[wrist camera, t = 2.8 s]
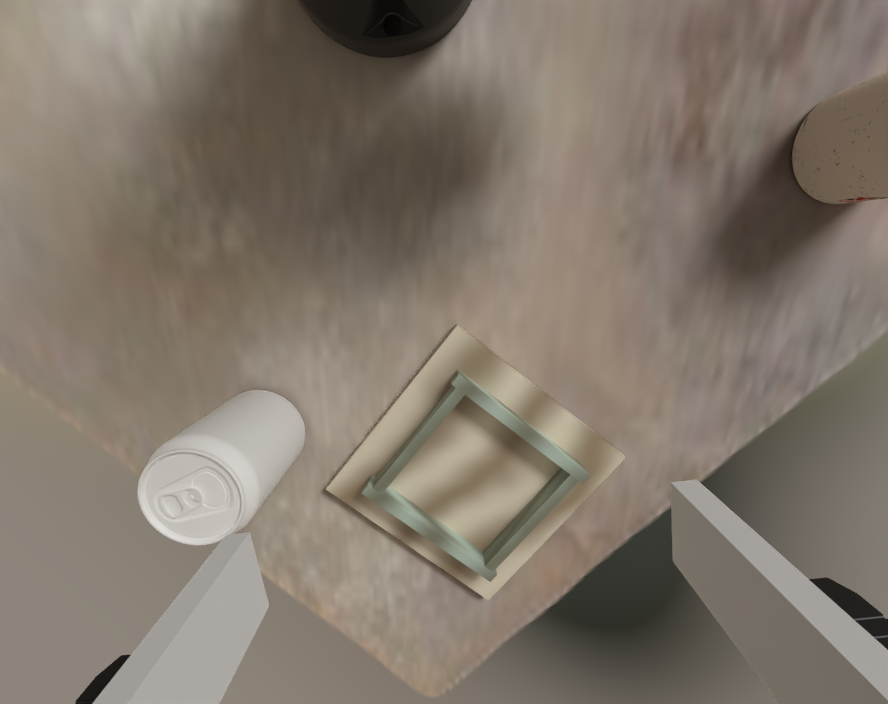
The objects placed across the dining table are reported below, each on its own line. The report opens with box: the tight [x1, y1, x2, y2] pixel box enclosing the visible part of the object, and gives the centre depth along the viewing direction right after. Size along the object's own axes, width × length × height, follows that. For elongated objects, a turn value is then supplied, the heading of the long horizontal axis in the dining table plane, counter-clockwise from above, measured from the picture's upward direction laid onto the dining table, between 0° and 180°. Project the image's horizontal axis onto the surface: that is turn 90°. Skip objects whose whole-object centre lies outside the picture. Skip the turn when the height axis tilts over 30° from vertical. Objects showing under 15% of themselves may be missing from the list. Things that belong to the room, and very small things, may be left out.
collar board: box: [326, 324, 626, 601], centre depth 40 cm, size 20×20×3 cm
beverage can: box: [137, 390, 305, 545], centre depth 34 cm, size 8×8×12 cm
